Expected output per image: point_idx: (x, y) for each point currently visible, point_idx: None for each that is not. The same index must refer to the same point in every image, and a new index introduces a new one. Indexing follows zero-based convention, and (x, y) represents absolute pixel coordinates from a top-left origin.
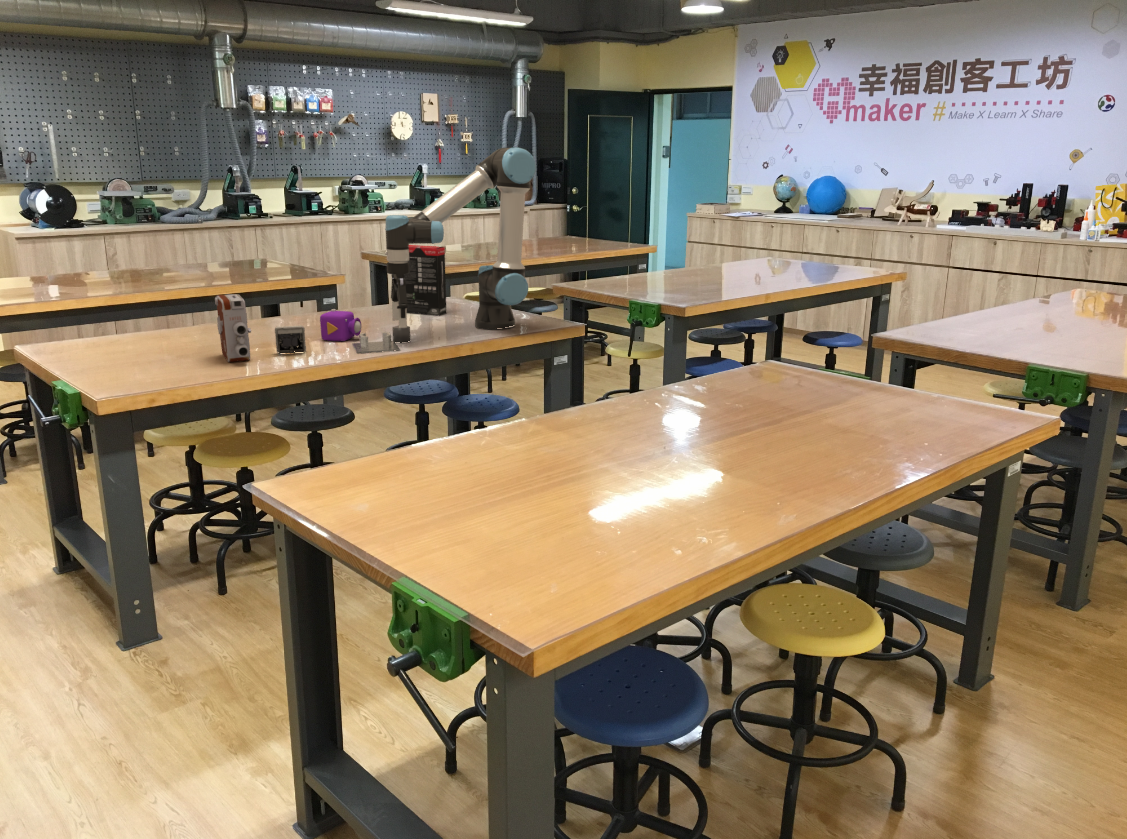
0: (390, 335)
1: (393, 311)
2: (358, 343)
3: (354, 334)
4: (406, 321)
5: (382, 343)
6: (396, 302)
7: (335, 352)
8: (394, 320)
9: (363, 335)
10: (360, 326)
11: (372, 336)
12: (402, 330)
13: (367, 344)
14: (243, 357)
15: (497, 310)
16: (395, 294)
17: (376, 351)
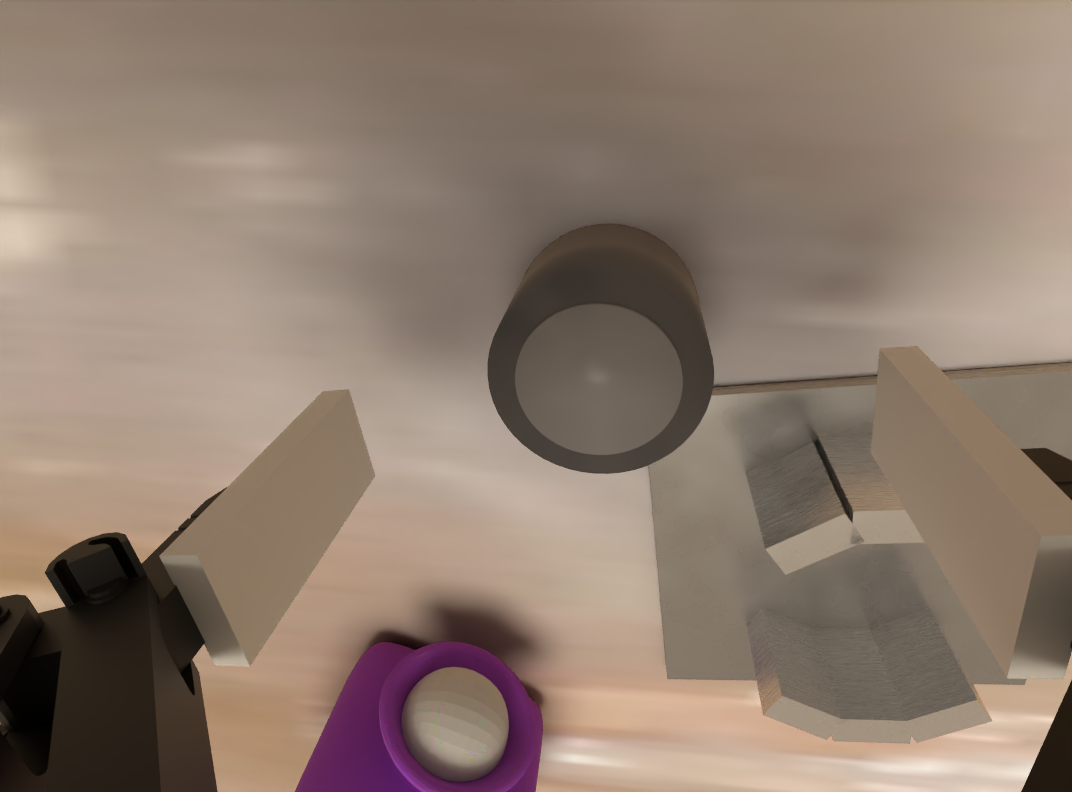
0: None
1: (321, 542)
2: (684, 647)
3: (514, 686)
4: (958, 393)
5: (743, 496)
6: (226, 604)
7: (887, 766)
8: (369, 459)
9: (891, 721)
10: (467, 700)
11: (352, 526)
12: (712, 365)
13: (948, 644)
14: None
15: None
16: (198, 787)
17: None
